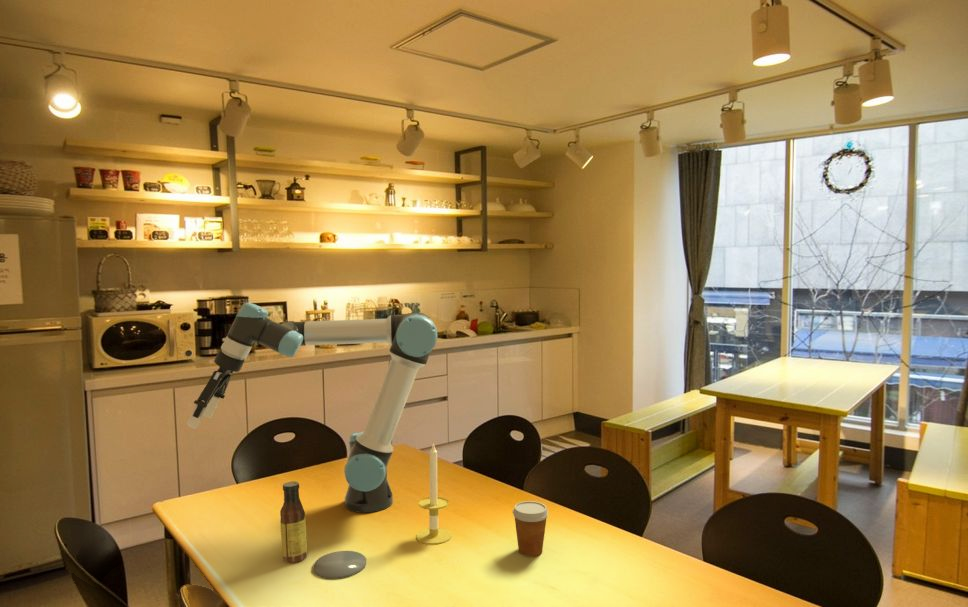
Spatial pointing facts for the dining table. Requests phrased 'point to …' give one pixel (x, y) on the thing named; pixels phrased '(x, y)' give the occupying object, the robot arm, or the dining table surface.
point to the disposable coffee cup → (530, 526)
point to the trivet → (339, 564)
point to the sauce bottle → (293, 525)
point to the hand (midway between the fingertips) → (198, 422)
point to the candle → (433, 508)
